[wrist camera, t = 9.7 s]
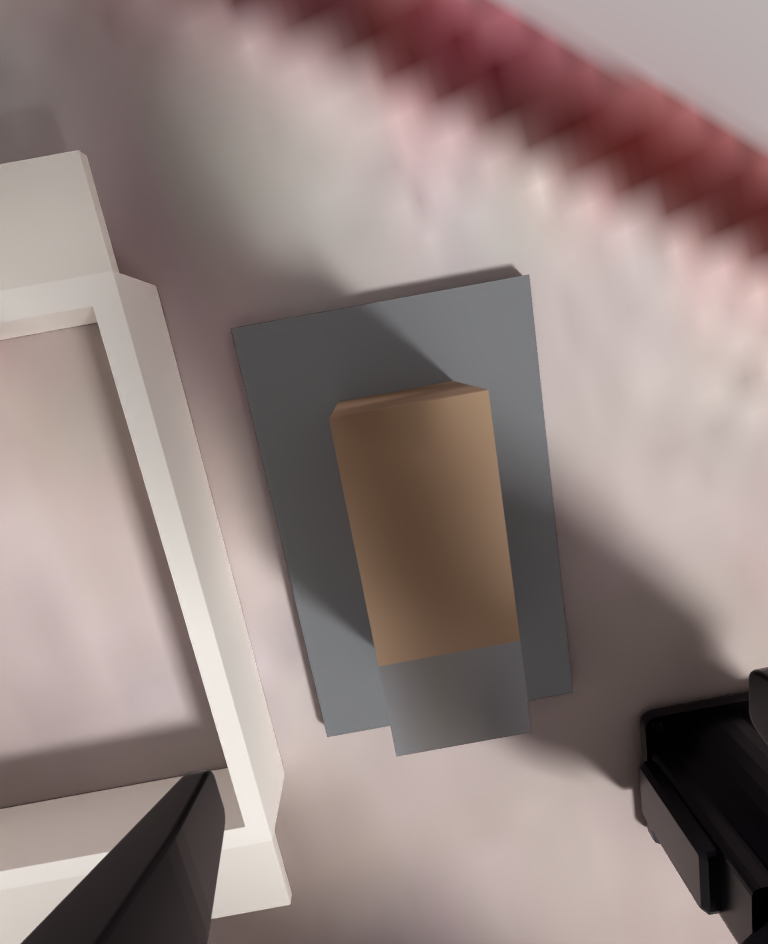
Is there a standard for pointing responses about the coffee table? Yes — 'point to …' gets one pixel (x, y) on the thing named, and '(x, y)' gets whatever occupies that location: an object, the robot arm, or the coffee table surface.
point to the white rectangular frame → (184, 541)
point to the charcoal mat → (319, 483)
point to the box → (434, 562)
